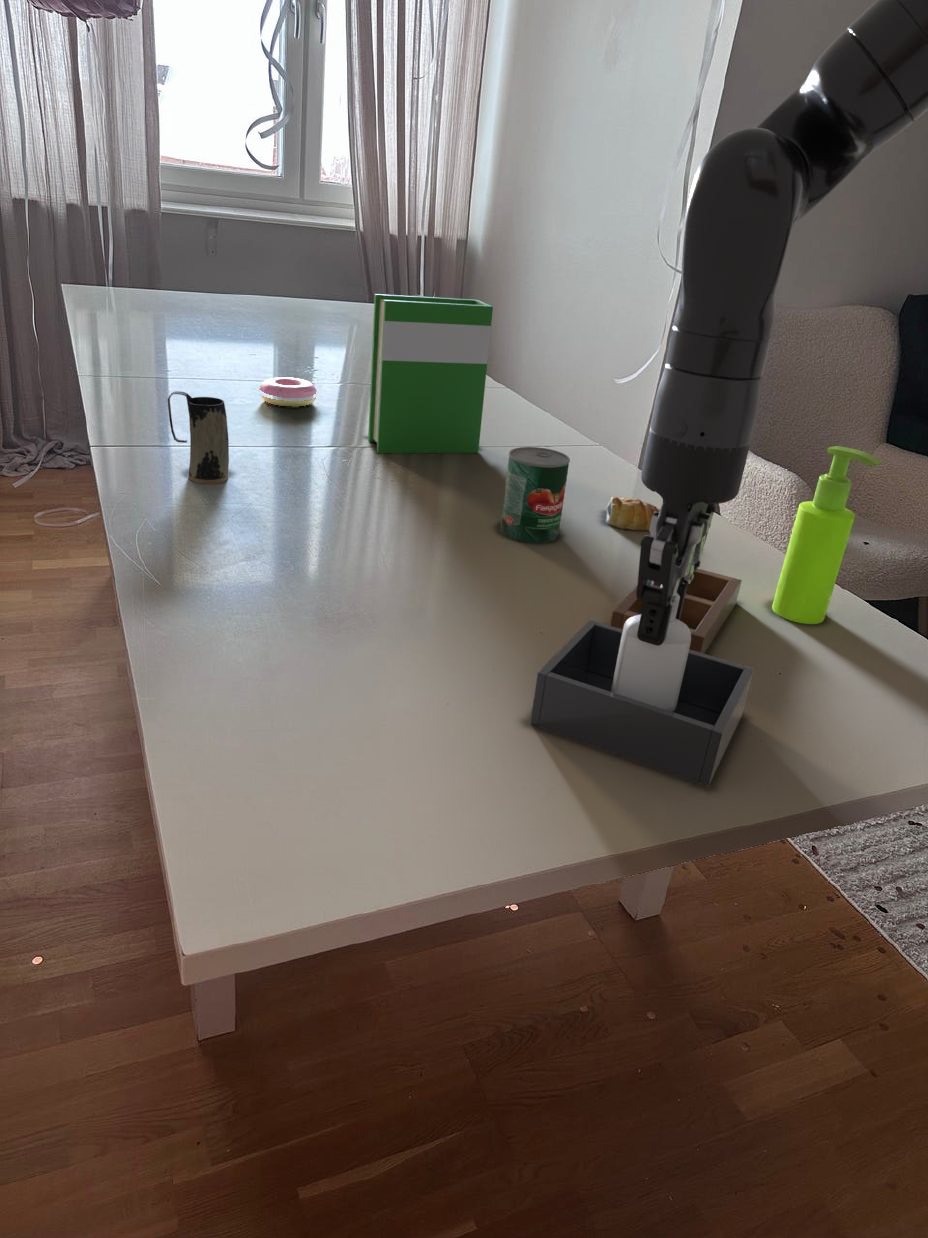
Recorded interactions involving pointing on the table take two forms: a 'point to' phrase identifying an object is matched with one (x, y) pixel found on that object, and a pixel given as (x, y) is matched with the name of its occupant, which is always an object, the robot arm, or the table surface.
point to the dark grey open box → (641, 706)
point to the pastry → (630, 513)
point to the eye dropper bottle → (652, 663)
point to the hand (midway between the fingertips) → (658, 630)
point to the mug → (206, 439)
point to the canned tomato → (534, 494)
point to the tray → (693, 606)
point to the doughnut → (288, 391)
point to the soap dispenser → (818, 543)
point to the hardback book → (428, 373)
